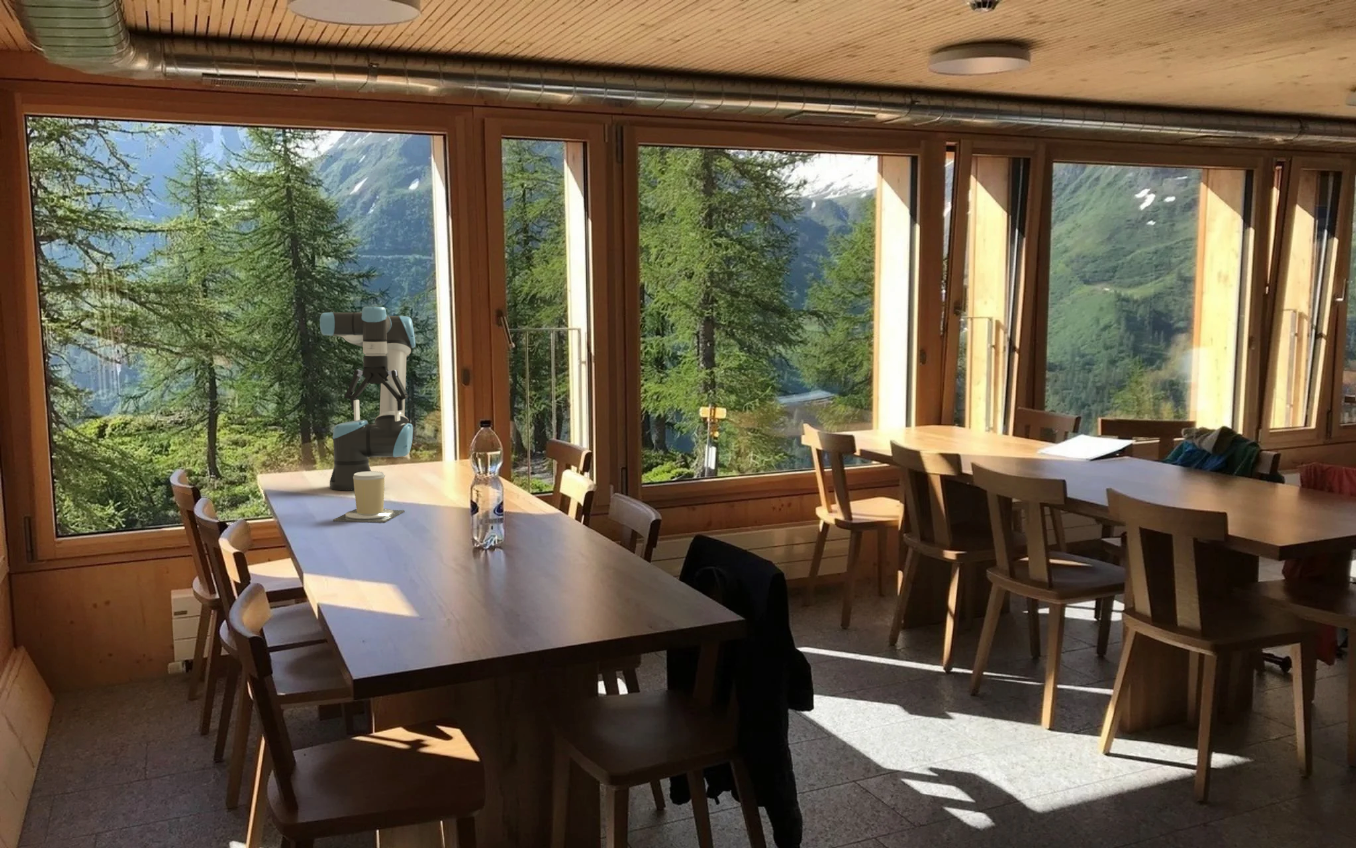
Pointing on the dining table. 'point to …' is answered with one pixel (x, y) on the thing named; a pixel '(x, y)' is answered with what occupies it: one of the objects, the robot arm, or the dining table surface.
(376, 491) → the coffee cup
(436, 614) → the dining table surface
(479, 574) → the dining table surface
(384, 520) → the flange plate
